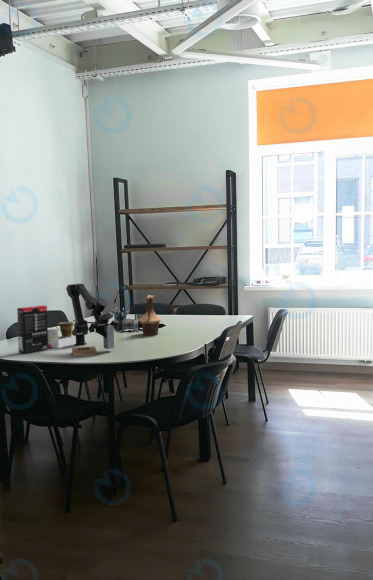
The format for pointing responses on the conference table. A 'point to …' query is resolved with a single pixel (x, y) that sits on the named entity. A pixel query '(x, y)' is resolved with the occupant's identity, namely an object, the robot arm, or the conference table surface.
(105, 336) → the robot arm
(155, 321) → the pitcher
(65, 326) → the ceramic cup
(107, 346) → the grey rectangular block
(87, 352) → the post foot
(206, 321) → the conference table surface
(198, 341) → the conference table surface
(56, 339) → the ink box
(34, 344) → the graphics card box
